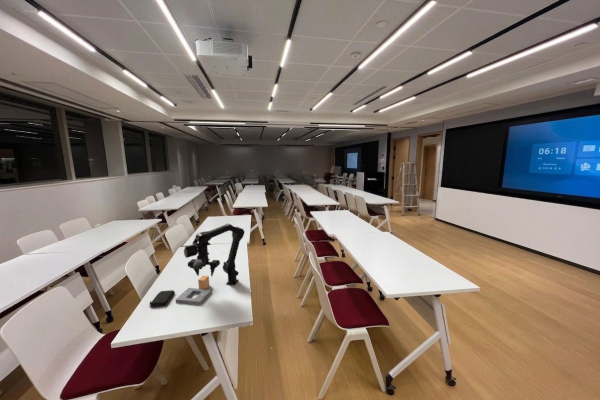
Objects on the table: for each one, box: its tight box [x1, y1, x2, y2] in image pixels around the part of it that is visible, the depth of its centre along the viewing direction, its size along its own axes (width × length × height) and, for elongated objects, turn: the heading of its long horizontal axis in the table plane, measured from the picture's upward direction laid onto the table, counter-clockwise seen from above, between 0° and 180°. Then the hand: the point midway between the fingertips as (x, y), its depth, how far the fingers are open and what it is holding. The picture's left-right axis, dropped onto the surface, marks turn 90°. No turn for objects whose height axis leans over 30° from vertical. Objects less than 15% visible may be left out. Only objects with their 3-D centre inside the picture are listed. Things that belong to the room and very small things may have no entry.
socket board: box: [175, 287, 212, 306], centre depth 147 cm, size 13×16×2 cm
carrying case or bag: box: [149, 289, 176, 308], centre depth 144 cm, size 11×3×15 cm
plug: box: [197, 275, 210, 289], centre depth 158 cm, size 6×4×7 cm, turn 171°
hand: (205, 275), depth 150 cm, fingers open, 9 cm apart
